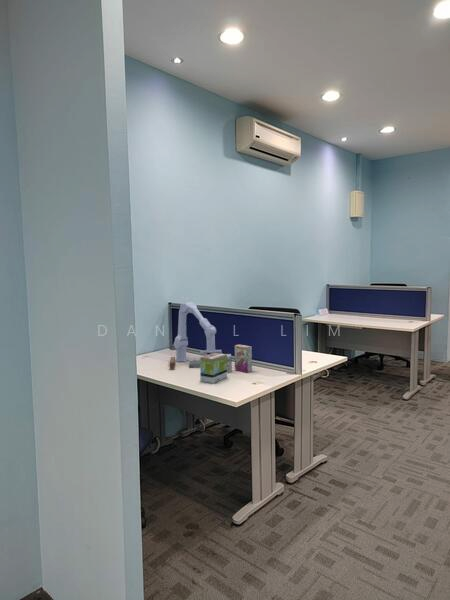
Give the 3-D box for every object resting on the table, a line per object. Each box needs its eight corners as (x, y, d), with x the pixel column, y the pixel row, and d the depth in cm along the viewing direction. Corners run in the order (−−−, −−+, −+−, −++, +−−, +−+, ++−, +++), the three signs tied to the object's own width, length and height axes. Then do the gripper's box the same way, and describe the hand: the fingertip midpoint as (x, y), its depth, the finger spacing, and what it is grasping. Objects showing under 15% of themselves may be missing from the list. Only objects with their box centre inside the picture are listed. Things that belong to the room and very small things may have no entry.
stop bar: (171, 364, 275) (170, 357, 274) (175, 363, 275) (175, 356, 274) (169, 370, 259) (169, 362, 258) (174, 369, 259) (174, 362, 259)
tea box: (214, 383, 226) (213, 358, 225) (200, 381, 232) (199, 356, 230) (227, 377, 239) (227, 353, 238) (214, 375, 244) (213, 352, 243)
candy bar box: (234, 370, 256) (233, 345, 254) (239, 368, 259) (239, 344, 258) (247, 372, 248) (247, 347, 247) (252, 371, 252) (252, 346, 250)
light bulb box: (231, 369, 256) (231, 353, 256) (231, 372, 250) (230, 356, 249) (215, 369, 258) (215, 353, 257) (214, 372, 251) (214, 355, 250)
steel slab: (189, 365, 273) (189, 360, 273) (203, 364, 274) (203, 360, 273) (189, 368, 263) (189, 364, 263) (204, 368, 264) (204, 363, 263)
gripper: (200, 345, 263) (200, 365, 264) (221, 345, 264) (222, 364, 265) (200, 343, 270) (200, 363, 271) (221, 343, 271) (221, 362, 272)
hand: (211, 363), depth 269 cm, fingers closed
